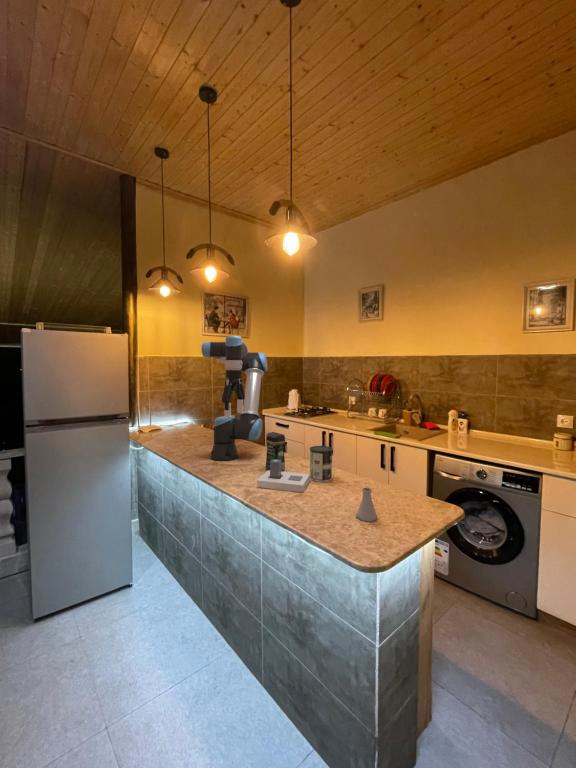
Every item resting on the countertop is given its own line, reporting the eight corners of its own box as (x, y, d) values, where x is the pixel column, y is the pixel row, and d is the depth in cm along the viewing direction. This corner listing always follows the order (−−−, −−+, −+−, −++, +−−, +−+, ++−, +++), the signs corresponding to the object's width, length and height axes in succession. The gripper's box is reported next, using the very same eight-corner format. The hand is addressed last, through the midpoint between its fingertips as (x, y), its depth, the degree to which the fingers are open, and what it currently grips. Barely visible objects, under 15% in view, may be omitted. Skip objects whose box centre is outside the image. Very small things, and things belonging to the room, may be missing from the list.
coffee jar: (263, 468, 165) (263, 432, 164) (275, 465, 170) (275, 430, 169) (275, 473, 158) (275, 435, 157) (287, 470, 163) (287, 433, 162)
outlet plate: (268, 476, 153) (268, 469, 153) (309, 480, 148) (310, 473, 148) (257, 487, 140) (257, 479, 140) (302, 492, 134) (302, 484, 134)
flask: (361, 510, 118) (362, 483, 117) (380, 516, 113) (381, 488, 113) (351, 518, 112) (352, 489, 112) (371, 524, 108) (372, 494, 107)
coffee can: (330, 474, 157) (331, 445, 156) (333, 482, 146) (333, 451, 146) (309, 474, 157) (309, 445, 156) (310, 482, 147) (310, 451, 146)
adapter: (272, 481, 147) (272, 458, 147) (281, 482, 146) (281, 459, 146) (269, 484, 144) (270, 461, 143) (278, 485, 142) (278, 462, 142)
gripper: (229, 370, 139) (229, 419, 140) (251, 369, 163) (251, 411, 164) (213, 369, 141) (213, 418, 142) (237, 369, 165) (237, 411, 166)
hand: (234, 415), depth 153 cm, fingers open, 13 cm apart
